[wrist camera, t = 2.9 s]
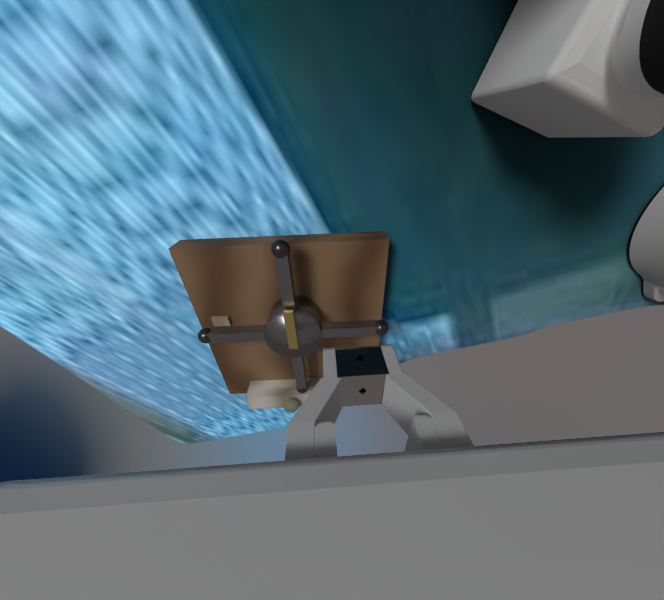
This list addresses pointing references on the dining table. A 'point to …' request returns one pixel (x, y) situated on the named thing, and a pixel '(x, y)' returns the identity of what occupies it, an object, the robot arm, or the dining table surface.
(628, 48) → the medicine bottle
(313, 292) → the stand
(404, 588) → the robot arm
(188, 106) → the dining table surface
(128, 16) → the dining table surface
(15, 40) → the dining table surface
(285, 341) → the capstan
